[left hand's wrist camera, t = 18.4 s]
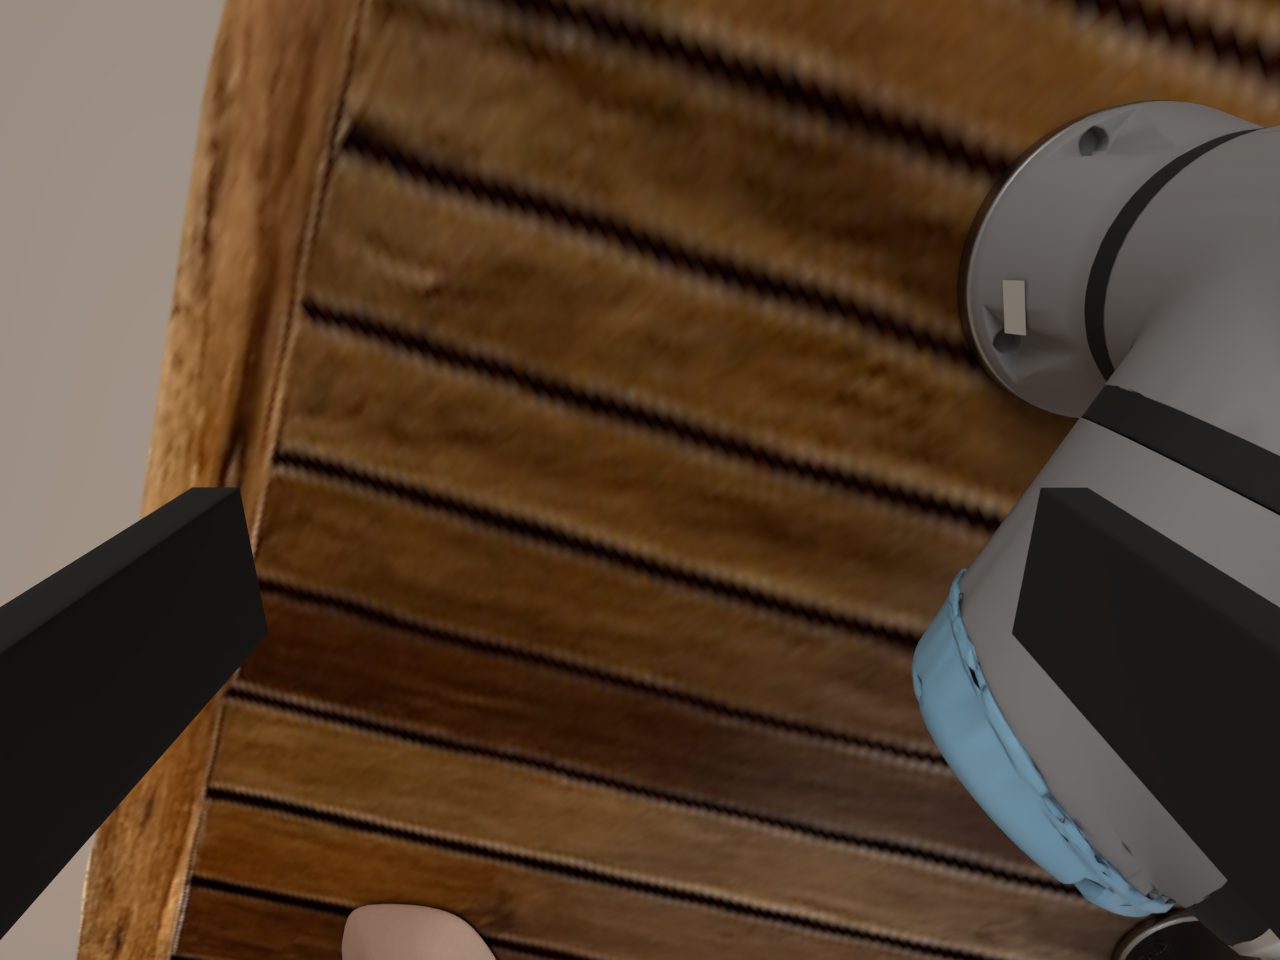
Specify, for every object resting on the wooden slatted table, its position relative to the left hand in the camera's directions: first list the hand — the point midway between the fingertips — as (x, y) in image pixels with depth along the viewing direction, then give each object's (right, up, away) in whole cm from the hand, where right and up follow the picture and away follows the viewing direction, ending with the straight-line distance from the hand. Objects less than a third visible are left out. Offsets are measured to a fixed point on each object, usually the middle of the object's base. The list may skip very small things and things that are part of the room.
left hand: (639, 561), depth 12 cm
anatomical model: (-16, -35, +43) cm, 58 cm away
